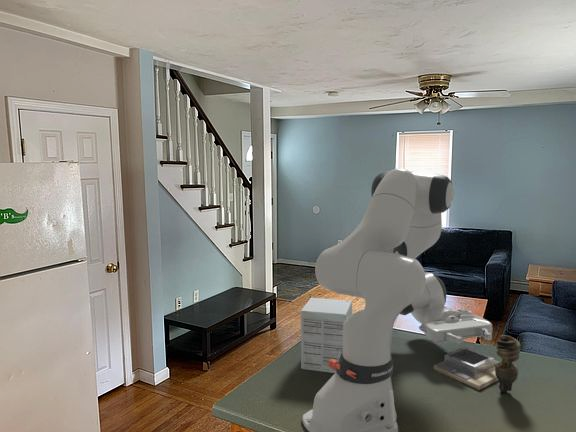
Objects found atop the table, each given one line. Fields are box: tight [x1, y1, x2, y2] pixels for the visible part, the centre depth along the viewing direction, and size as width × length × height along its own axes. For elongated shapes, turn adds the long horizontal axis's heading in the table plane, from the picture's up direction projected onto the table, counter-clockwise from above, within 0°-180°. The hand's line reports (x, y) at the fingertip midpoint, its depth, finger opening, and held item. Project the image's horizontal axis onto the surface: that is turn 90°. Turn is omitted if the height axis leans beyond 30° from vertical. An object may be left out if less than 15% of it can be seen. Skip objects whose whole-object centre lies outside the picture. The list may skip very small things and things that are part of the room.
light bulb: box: [495, 334, 522, 394], centre depth 110 cm, size 6×6×15 cm
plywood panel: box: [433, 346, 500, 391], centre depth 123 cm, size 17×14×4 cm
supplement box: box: [300, 297, 353, 374], centre depth 128 cm, size 13×13×18 cm
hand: (475, 339), depth 122 cm, fingers open, 8 cm apart
